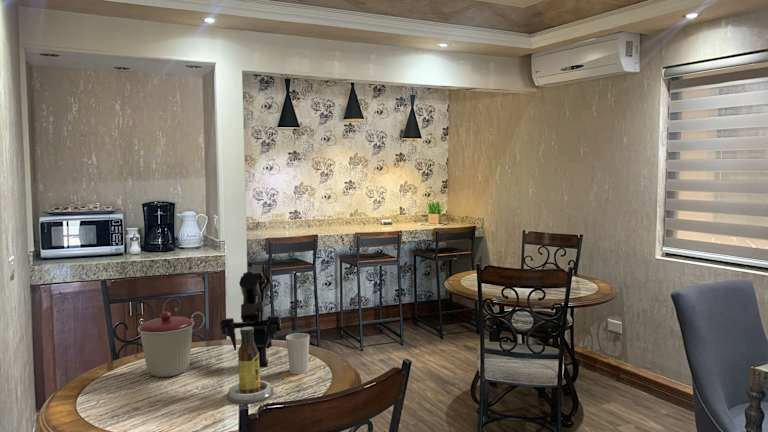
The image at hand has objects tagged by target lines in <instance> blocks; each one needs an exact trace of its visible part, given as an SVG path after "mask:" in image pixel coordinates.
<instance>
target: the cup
mask: <svg viewBox="0 0 768 432" xmlns="http://www.w3.org/2000/svg"><path fill="white" fill-rule="evenodd" d="M285 343H286V349H287V356H288V364H289V373H290V374H291V375H292V374H293V375H303V374H306V373H308V372H309V354H310V353H309V352H310V350H309V349H310V334H309V333H306V332H305V333H303V332H302V333H301V332H299V333H298V332H296V333H290V334H287V335H285Z"/></svg>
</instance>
